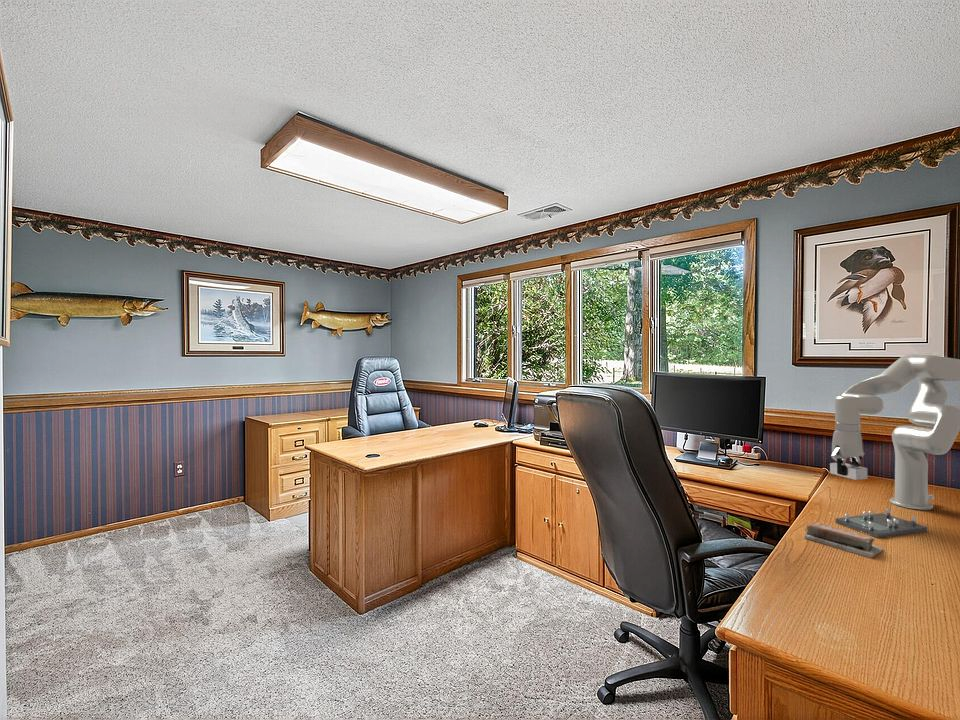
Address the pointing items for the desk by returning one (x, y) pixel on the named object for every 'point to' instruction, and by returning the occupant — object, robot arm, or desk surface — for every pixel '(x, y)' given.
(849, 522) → the tray
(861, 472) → the block
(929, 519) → the desk surface
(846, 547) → the packaged product
